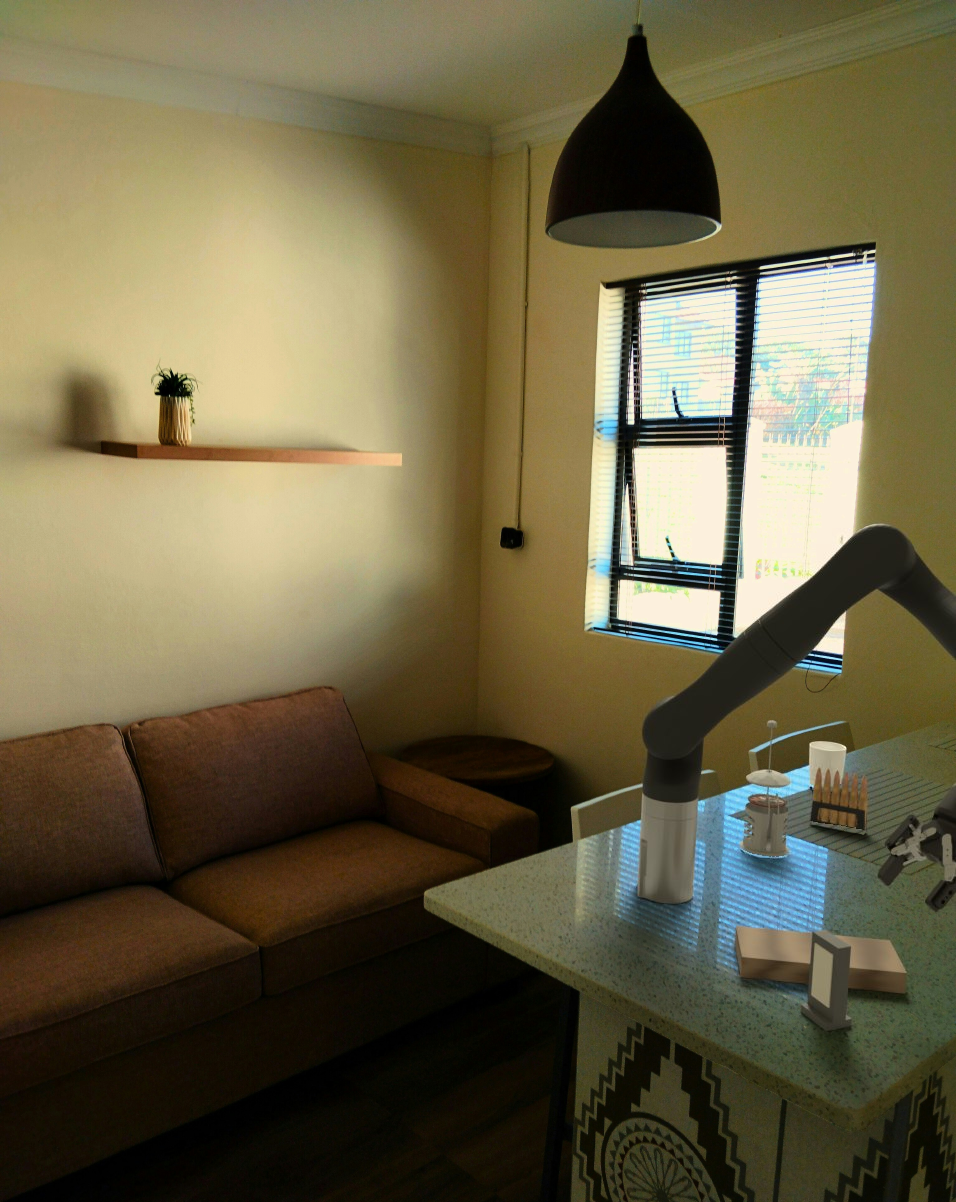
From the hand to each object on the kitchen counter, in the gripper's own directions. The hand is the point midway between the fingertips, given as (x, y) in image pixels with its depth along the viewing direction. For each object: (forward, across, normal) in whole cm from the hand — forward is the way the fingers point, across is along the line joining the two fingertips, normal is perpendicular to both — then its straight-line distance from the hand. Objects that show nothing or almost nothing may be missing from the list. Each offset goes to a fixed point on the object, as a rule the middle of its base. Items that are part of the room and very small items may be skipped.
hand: (905, 894), depth 135 cm
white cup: (-27, -81, +50) cm, 99 cm away
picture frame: (+19, 0, +3) cm, 19 cm away
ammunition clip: (-17, -58, +39) cm, 72 cm away
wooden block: (+14, -12, +8) cm, 20 cm away
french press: (-1, -52, +23) cm, 57 cm away
